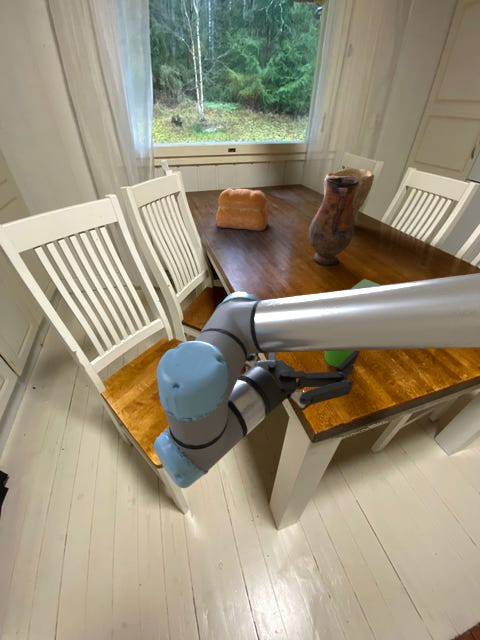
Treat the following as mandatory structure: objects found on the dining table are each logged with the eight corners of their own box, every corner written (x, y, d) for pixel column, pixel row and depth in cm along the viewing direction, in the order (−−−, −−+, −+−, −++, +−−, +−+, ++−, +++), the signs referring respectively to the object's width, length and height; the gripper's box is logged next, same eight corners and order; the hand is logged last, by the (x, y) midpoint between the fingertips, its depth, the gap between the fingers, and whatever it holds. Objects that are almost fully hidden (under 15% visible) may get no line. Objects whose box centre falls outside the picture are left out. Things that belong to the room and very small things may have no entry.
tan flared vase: (323, 214, 158) (332, 165, 142) (363, 220, 150) (378, 169, 134) (311, 226, 142) (321, 172, 127) (356, 234, 134) (372, 178, 118)
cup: (313, 367, 67) (322, 333, 60) (319, 343, 73) (328, 310, 66) (352, 378, 64) (366, 344, 57) (354, 352, 71) (367, 319, 64)
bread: (221, 218, 151) (220, 184, 140) (268, 222, 147) (271, 187, 136) (213, 228, 139) (212, 192, 128) (264, 232, 135) (267, 195, 124)
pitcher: (344, 252, 118) (364, 175, 99) (347, 276, 101) (373, 190, 83) (305, 248, 120) (318, 173, 102) (302, 271, 104) (317, 186, 85)
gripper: (203, 369, 53) (275, 322, 64) (311, 468, 39) (378, 385, 50) (200, 341, 48) (278, 295, 59) (322, 442, 34) (393, 357, 45)
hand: (324, 337), depth 55 cm, fingers open, 13 cm apart
